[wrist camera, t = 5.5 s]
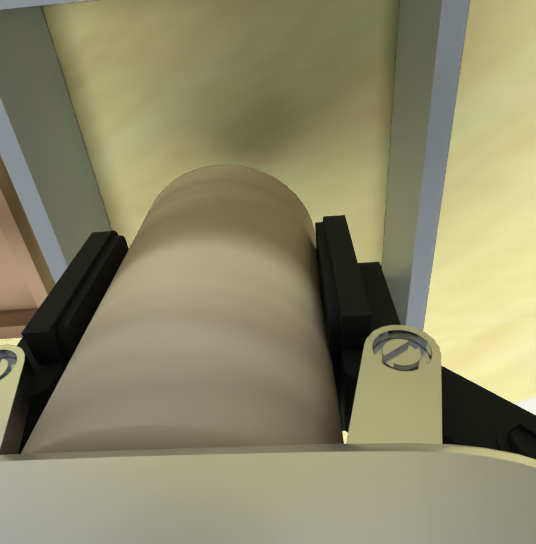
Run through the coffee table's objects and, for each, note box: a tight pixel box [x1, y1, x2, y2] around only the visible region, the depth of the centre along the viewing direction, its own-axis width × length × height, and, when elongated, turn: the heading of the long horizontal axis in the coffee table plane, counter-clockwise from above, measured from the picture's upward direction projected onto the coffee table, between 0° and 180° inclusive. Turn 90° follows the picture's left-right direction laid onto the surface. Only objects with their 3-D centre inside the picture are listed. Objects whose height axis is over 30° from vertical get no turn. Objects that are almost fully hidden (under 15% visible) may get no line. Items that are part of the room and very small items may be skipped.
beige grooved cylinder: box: [21, 165, 344, 454], centre depth 10 cm, size 5×5×8 cm
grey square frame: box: [0, 0, 470, 331], centre depth 19 cm, size 16×16×5 cm
